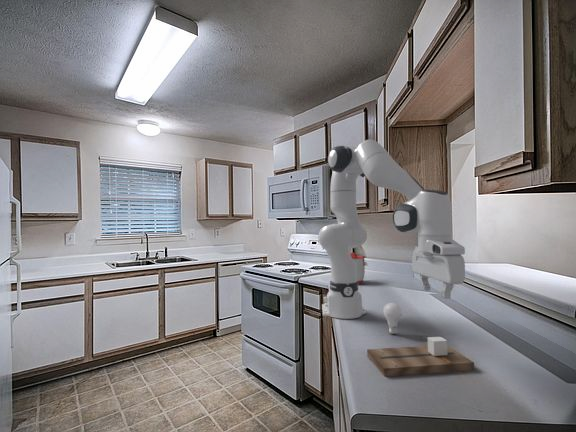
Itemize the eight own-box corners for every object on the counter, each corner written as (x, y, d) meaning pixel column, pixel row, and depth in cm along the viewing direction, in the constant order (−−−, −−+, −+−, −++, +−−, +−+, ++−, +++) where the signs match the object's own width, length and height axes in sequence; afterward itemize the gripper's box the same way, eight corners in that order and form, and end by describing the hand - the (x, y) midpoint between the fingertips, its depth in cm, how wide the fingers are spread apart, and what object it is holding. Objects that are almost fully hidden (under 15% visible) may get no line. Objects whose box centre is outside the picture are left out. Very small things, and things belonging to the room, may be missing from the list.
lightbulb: (379, 332, 111) (379, 301, 111) (393, 329, 113) (393, 299, 113) (391, 338, 105) (391, 306, 105) (406, 335, 107) (405, 303, 107)
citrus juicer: (367, 286, 189) (366, 253, 189) (339, 284, 194) (338, 253, 195) (368, 281, 204) (368, 251, 204) (342, 280, 209) (342, 250, 210)
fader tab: (434, 355, 86) (433, 341, 86) (427, 351, 89) (427, 337, 89) (447, 355, 86) (447, 340, 86) (440, 350, 89) (440, 336, 89)
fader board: (384, 376, 79) (384, 367, 79) (367, 356, 91) (367, 348, 91) (474, 369, 82) (473, 361, 82) (446, 351, 94) (445, 343, 94)
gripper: (406, 243, 98) (407, 286, 98) (446, 248, 78) (447, 303, 78) (425, 242, 99) (425, 285, 99) (469, 248, 79) (470, 302, 78)
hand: (435, 293), depth 88 cm, fingers open, 8 cm apart
